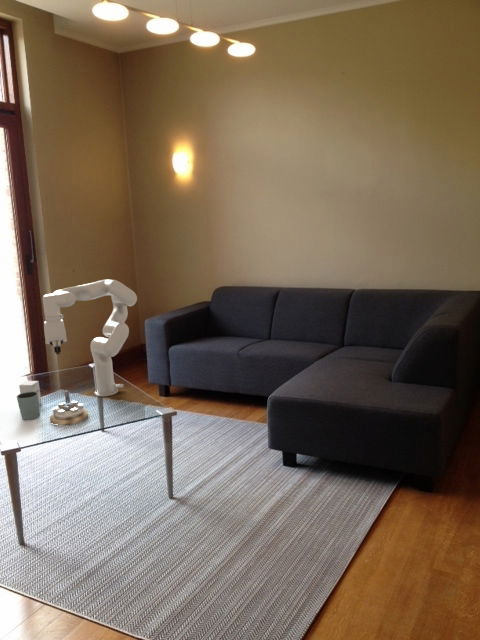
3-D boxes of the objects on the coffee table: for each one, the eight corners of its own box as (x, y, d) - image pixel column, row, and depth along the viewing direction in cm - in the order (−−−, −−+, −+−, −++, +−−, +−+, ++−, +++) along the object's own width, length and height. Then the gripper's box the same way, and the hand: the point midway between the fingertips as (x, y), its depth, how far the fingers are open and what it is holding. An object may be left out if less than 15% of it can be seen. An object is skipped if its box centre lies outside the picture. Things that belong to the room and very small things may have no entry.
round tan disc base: (86, 409, 296) (85, 404, 295) (90, 421, 279) (89, 416, 279) (49, 415, 290) (48, 411, 290) (51, 428, 274) (50, 423, 273)
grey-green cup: (31, 422, 284) (28, 398, 281) (15, 420, 287) (11, 397, 285) (45, 414, 293) (42, 391, 290) (29, 412, 296) (25, 390, 294)
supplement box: (34, 408, 303) (31, 385, 300) (21, 408, 304) (18, 385, 301) (42, 403, 310) (38, 380, 307) (29, 403, 311) (26, 380, 308)
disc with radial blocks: (54, 411, 289) (52, 392, 287) (83, 407, 293) (81, 388, 290) (53, 421, 276) (50, 401, 274) (83, 417, 279) (81, 397, 277)
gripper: (68, 315, 297) (72, 349, 301) (37, 319, 292) (42, 354, 296) (69, 318, 290) (73, 353, 294) (37, 321, 285) (42, 357, 289)
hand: (57, 353), depth 295 cm, fingers closed
